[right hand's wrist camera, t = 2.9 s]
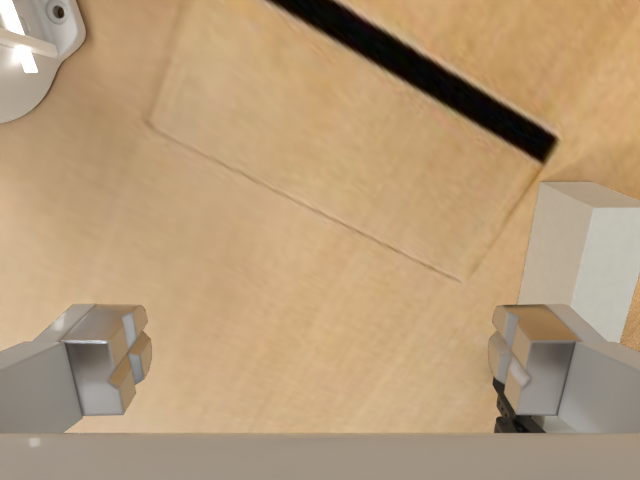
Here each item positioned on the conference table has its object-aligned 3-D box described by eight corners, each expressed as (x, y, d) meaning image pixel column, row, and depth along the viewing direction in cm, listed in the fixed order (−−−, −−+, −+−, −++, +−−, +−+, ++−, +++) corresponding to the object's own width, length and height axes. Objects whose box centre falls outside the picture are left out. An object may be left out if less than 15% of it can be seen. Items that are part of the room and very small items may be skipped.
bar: (539, 181, 38) (593, 207, 31) (591, 181, 38) (659, 207, 31) (500, 396, 47) (535, 458, 39) (543, 396, 47) (586, 458, 39)
